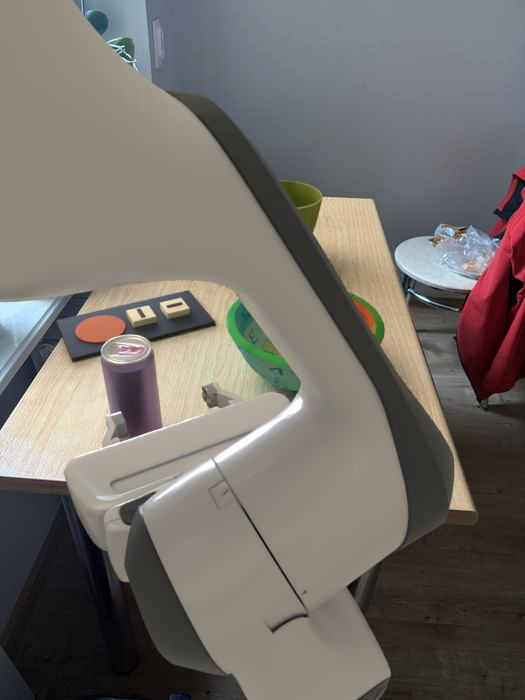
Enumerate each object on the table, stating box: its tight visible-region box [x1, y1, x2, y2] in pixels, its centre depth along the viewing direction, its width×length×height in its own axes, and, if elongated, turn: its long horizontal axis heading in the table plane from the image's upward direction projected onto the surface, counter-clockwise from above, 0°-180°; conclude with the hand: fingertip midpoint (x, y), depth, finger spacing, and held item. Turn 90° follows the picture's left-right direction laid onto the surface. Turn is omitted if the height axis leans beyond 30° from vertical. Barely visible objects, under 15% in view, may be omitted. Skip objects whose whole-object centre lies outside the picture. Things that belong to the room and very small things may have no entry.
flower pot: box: [278, 179, 324, 233], centre depth 103 cm, size 15×15×16 cm
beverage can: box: [100, 335, 164, 442], centre depth 64 cm, size 6×6×15 cm
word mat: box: [55, 289, 216, 363], centre depth 90 cm, size 24×12×2 cm, turn 118°
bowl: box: [225, 291, 386, 392], centre depth 78 cm, size 22×22×10 cm
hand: (162, 403), depth 50 cm, fingers open, 8 cm apart
